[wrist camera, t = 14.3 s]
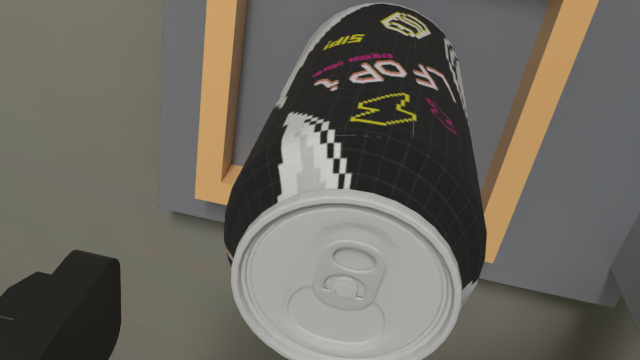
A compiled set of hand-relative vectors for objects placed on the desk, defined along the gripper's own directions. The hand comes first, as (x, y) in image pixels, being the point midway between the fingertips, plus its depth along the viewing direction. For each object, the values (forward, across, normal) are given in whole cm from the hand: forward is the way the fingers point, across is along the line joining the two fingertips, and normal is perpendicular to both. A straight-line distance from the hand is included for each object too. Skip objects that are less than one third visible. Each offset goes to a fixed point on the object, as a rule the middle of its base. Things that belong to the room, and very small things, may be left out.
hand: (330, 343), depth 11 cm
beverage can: (+13, 0, 0) cm, 13 cm away
